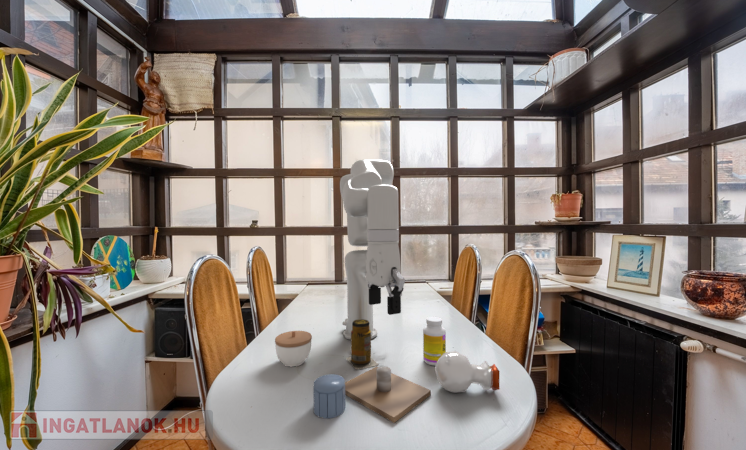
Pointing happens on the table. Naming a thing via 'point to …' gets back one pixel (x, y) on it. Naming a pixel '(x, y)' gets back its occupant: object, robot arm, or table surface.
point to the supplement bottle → (433, 340)
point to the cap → (329, 396)
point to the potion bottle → (464, 373)
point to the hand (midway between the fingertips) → (384, 308)
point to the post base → (386, 393)
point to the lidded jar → (293, 347)
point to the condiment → (361, 345)
